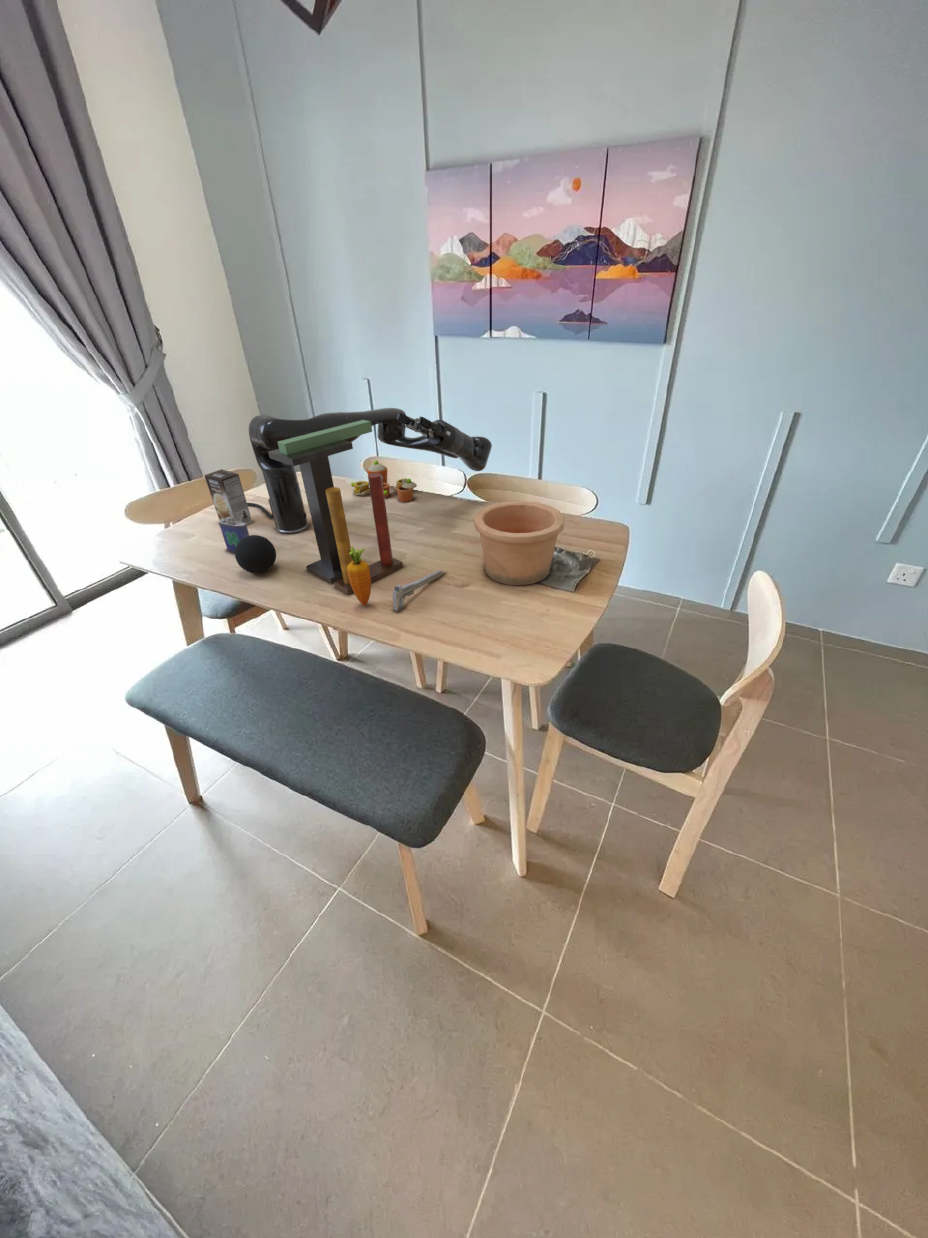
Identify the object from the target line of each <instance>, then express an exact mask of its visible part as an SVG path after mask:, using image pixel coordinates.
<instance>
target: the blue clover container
mask: <svg viewBox="0 0 928 1238" xmlns="http://www.w3.org/2000/svg"><path fill="white" fill-rule="evenodd" d="M233 518H234V517H233V516H231V517H228V518H226V519H228V520H226V519H224V520H221V521H218V525H219V528H220V530H221V531H220V532H221V534H222V537H223V540H224V543H225V547H226V550H227V552H228V553H232V554H235V549H236V546H237V544H238V543H239V541H240V540H242V539H243V538H245V537H247V536H250V532H249V529H248V526H247V525H246V523H239V522H233V521H234V520H233Z"/></svg>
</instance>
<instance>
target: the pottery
mask: <svg viewBox="0 0 928 1238" xmlns="http://www.w3.org/2000/svg"><path fill="white" fill-rule="evenodd" d="M473 525H474V528H475V531H476V532H478V534H479V538H480V544H481V550H482V557H483V563H484V570H485V572H486V575H487V576H488V577H490V579H492V580H493V581H496V582H498V583H500V584H504V585H510V586H526V585H527V586H528V585H531V584H536V583H538V582H540V581H542V580H544V579H546V578H547V576H549V575H550V571H551V566H552V561H553V558H554V553H555V548H556V544H557V540H558V535H559V534H560V533H561V532H562V531H563V530H564V528H565V527H564V526H565V516H564V515H563V514H562V512H561V510H559V509H557V508H556V507H553V506H551V505H548V504H544V503H541V502H536V501H535V502H534V501H526V500H514V501H512V500H511V501H510V500H509V501H504V502H497V503H494V504H491V505H487V506H484V507H483V508H481V509H480V510H478V511H477V512H476V514H475V516H474V518H473Z"/></svg>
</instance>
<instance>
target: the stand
mask: <svg viewBox="0 0 928 1238" xmlns="http://www.w3.org/2000/svg"><path fill="white" fill-rule="evenodd" d="M353 449H354V445H353V442H348V441H344V440H341V441H337V442H334V443H330V444H326V445H323V446H319V447H316V448H312V449H308V450H305V451H301V452H298V453H294V454H290V455H285V454H282V453H280V450H279V449H276V450H273V451H269V452H268V453H269V457H270V458H271V459H274V460H277V461H280V462H283V463H286V464H289V465H292V466H295V467H296V466H299V470H300V475H301V479H302V484H303V487H304V493H305V497H306V501H307V505H308V509H309V514H310V518H311V523H312V527H313V532H314V536H315V540H316V544H317V550H318V554H319V557H320V559H318V560H317V561H314V562H312V563H310V564H307V565H306V566H305V567H306V571H307V572H309V573H311V574H312V575H314V576H316V577H318V578H320V579H322V580H324V581H326V582H327V583H328V584H331V585H333V584H334V582H336V581H338V580H341V579H343V574H342V569H341V565H340V560H339V555H338V550H337V545H336V540H335V535H334V530H333V525H332V520H331V515H330V510H329V506H328V501H327V496H326V489H328V488H332V487H335V485H334V480H333V475H332V470H331V464H330V459H329V457H330V456H333V455H337V454H340V453H343V452H347V451H350V450H353Z"/></svg>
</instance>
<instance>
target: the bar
mask: <svg viewBox="0 0 928 1238" xmlns="http://www.w3.org/2000/svg"><path fill="white" fill-rule="evenodd" d="M372 427H373V426H371V421H367V420H361V421H357V422H353V423H349V424H345V425H341V426H337V427H333V428H329V429H325V430H321V431H317V432H314V433H310V434H306V435H302V436H298V437H294V438H290V439H286V440H282V441H278V446H279V450H280V453H282V454H285V455H290V454H294V453H298V452H301V451H305V450H308V449H312V448H316V447H319V446H323V445H326V444H330V443H334V442H337V441H341V440H344V439H348V438H352V437H355V436H359V435H361V436H362V435H365V434H369V433H370V434H371V433H373V428H372Z"/></svg>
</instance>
